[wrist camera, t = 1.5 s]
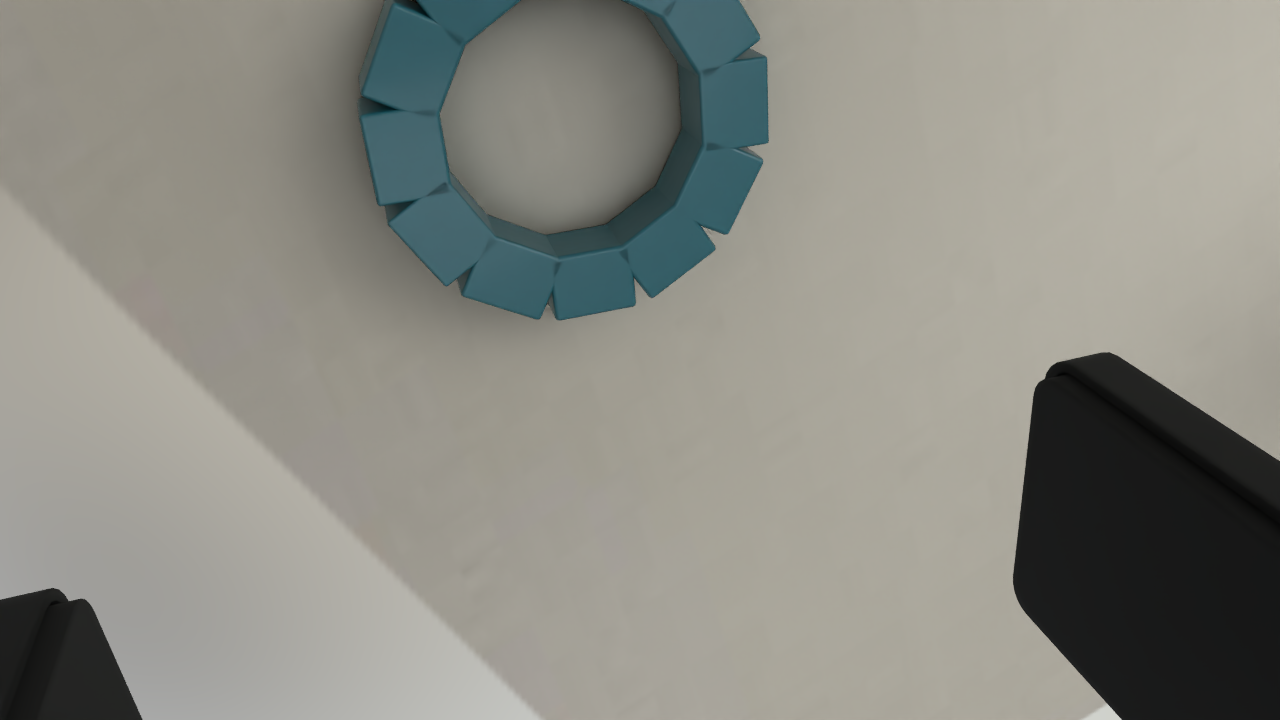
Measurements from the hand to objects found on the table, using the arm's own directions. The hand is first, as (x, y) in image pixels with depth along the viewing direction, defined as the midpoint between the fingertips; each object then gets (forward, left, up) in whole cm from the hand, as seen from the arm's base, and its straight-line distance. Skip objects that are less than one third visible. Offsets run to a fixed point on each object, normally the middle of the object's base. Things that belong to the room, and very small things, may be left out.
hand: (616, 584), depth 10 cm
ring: (+3, +1, -15) cm, 15 cm away
